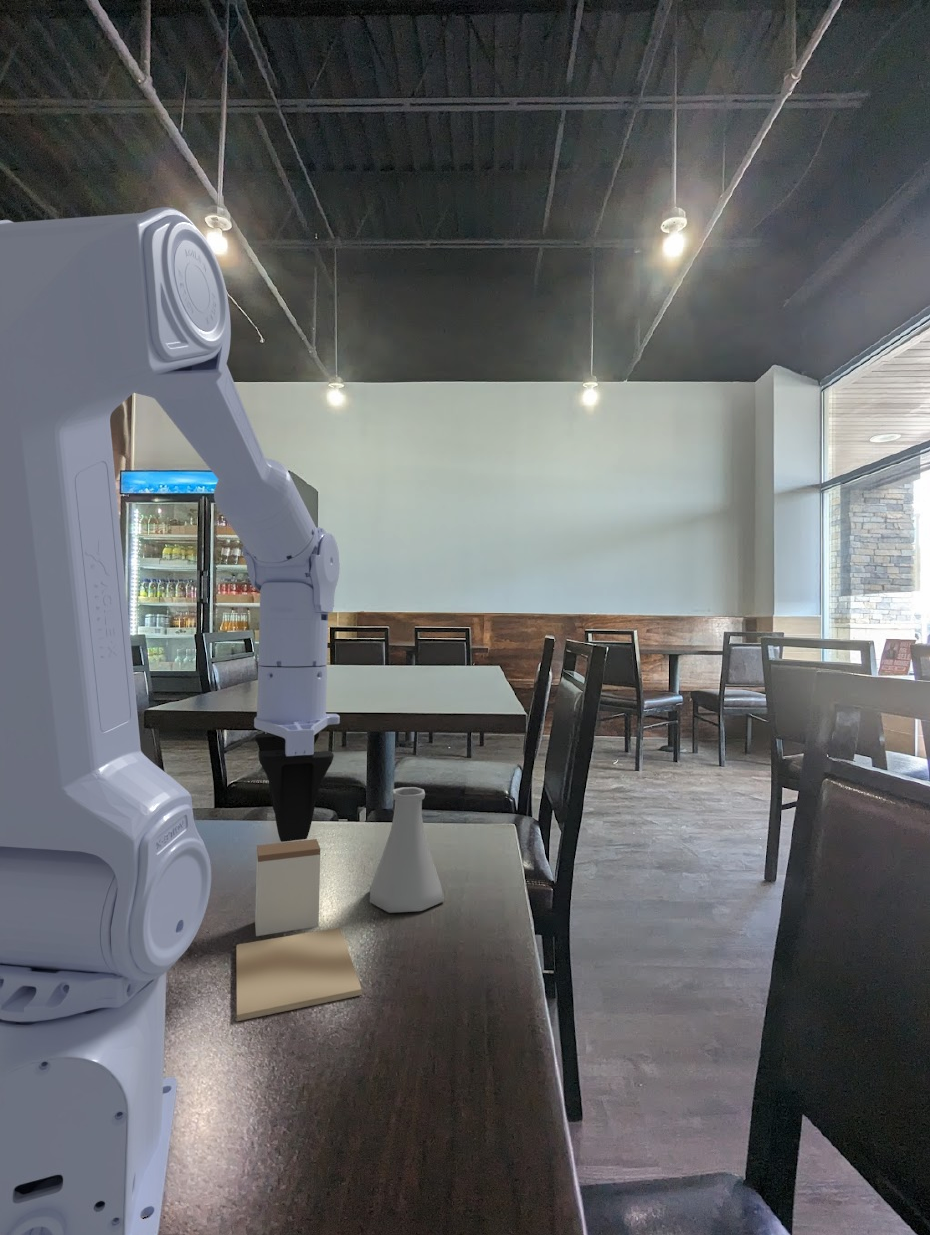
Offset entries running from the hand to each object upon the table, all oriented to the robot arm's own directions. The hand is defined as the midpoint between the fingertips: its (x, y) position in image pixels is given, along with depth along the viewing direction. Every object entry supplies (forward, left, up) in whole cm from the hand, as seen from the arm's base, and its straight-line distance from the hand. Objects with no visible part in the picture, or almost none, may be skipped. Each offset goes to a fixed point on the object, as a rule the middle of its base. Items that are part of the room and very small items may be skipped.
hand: (289, 824), depth 50 cm
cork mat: (-8, 0, -8) cm, 11 cm away
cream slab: (0, 0, -8) cm, 8 cm away
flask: (+1, -11, -9) cm, 14 cm away
